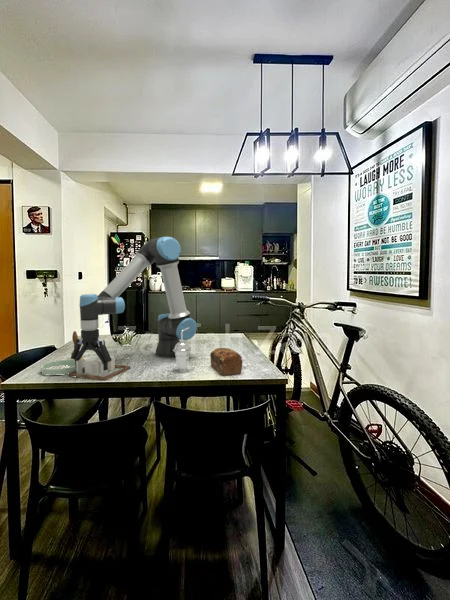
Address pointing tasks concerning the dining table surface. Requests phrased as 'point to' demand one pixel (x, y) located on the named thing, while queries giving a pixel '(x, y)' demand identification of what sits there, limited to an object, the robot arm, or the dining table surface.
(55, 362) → the bowl
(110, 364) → the white upright block
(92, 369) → the white rectangular block
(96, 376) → the tray
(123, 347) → the dining table surface
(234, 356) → the bread
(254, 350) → the dining table surface
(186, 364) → the cup with straw
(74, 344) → the hand bell
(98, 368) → the white block
